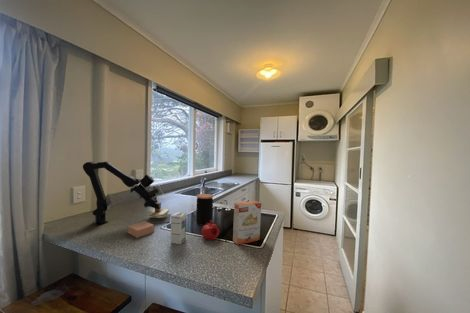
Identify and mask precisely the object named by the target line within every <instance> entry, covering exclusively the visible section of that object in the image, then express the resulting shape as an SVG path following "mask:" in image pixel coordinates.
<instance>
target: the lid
mask: <svg viewBox="0 0 470 313" xmlns="http://www.w3.org/2000/svg"><path fill="white" fill-rule="evenodd" d="M161 202H162V201H161ZM161 202H160V201H158V202H156V203H157V205H158V206H159V207H160V209H156V208H152V209H150V210H149V211H148V212H147V213H146V214H145V218H146V217H155V218H164V217H165V215H166V214H169V212H170V210H169V209H168V208H162V203H161Z"/></svg>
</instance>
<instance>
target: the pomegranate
mask: <svg viewBox="0 0 470 313" xmlns="http://www.w3.org/2000/svg"><path fill="white" fill-rule="evenodd" d="M219 235H220V229H219V227H218V224H217V223H214V221H213V220H212V221H210V224H209V223H208V224H207V225H206V224H205V225H202V227H201V236H202V238H204V239H206V240H210V241H211V240H212V241H213V240H216V239H217V238H218V237H219Z"/></svg>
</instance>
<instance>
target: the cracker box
mask: <svg viewBox="0 0 470 313" xmlns="http://www.w3.org/2000/svg"><path fill="white" fill-rule="evenodd" d="M233 206H234V207H233V226H232V229H233V230H232V231H233V233H232V241H233V242H234V243H235V244H236V245H237V246H238V245H239V244H240V245H243V244H248V243H254V242H257V241H258V240H259V241H260V239H261V238H260V237H261V235H260V234H261V217H262V216H261V215H262V203H261V202H260V201H257V200H249V201H241V202H234V205H233Z"/></svg>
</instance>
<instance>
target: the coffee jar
mask: <svg viewBox="0 0 470 313" xmlns="http://www.w3.org/2000/svg"><path fill="white" fill-rule="evenodd" d="M213 197H214V195H213V194H212V193H211V194H210V193H199V194H197V195H196V212H195V213H196V214H195V215H196V216H195V217H196V219H195V222H196V223H197V225H201V226H205V224H206V225H207V224H208V223H209V224H210V221H212V222H213V212H214V210H213V207H214V206H213V205H214V199H213Z"/></svg>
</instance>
